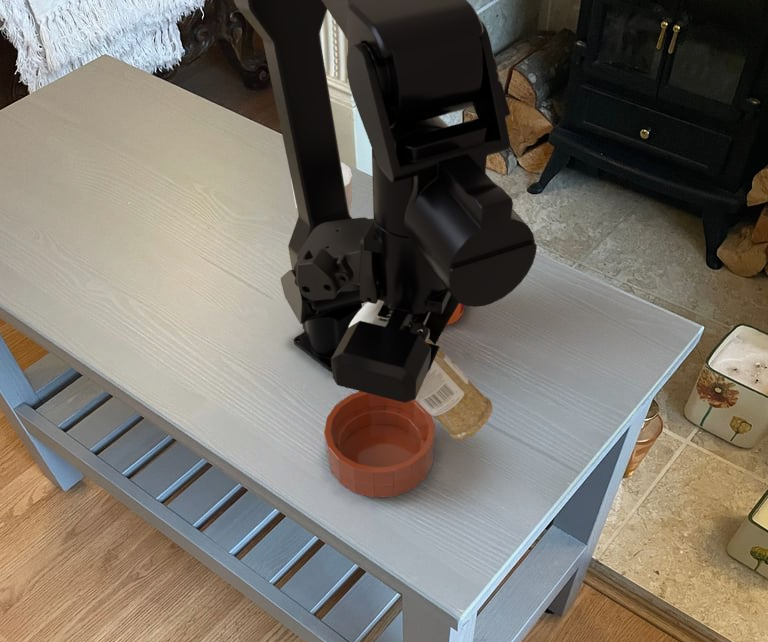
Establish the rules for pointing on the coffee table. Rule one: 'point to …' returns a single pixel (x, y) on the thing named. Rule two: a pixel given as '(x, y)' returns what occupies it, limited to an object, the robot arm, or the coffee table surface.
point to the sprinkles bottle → (443, 389)
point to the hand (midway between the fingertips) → (412, 375)
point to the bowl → (379, 444)
